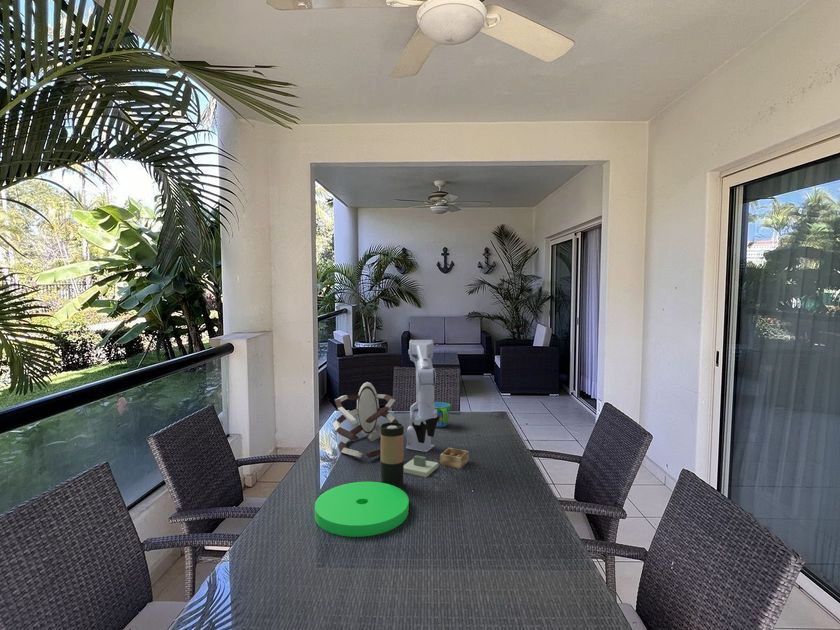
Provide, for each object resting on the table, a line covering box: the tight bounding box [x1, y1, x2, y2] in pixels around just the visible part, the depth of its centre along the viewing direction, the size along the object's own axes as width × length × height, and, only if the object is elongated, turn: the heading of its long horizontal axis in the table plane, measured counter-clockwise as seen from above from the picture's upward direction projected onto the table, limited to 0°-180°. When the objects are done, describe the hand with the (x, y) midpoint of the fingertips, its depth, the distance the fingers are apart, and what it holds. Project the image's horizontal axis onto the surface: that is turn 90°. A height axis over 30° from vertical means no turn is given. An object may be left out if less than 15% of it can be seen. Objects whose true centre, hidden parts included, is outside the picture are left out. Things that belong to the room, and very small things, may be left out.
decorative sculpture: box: [332, 381, 399, 459], centre depth 185 cm, size 24×27×35 cm
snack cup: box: [434, 401, 452, 428], centre depth 214 cm, size 16×10×10 cm
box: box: [439, 447, 469, 470], centre depth 168 cm, size 8×8×4 cm
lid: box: [403, 454, 439, 478], centre depth 162 cm, size 10×10×5 cm
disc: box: [314, 481, 410, 538], centre depth 132 cm, size 27×27×3 cm
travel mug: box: [380, 422, 405, 489], centre depth 149 cm, size 8×8×20 cm
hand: (426, 439), depth 164 cm, fingers open, 7 cm apart
